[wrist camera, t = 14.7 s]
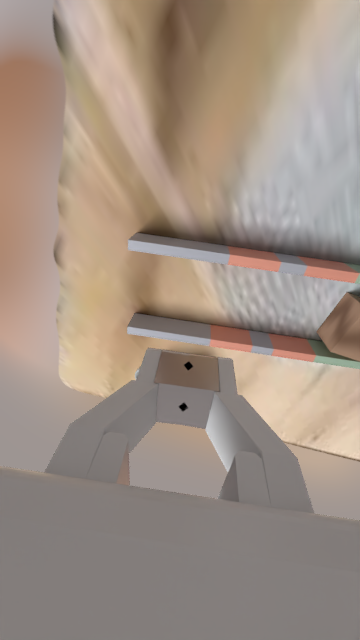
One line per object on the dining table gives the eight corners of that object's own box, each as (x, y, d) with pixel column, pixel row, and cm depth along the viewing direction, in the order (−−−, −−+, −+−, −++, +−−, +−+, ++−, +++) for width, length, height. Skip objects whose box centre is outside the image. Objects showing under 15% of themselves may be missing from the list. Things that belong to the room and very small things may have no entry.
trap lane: (136, 232, 32) (128, 239, 29) (430, 275, 31) (458, 287, 28) (134, 319, 39) (127, 333, 36) (375, 356, 38) (391, 373, 35)
